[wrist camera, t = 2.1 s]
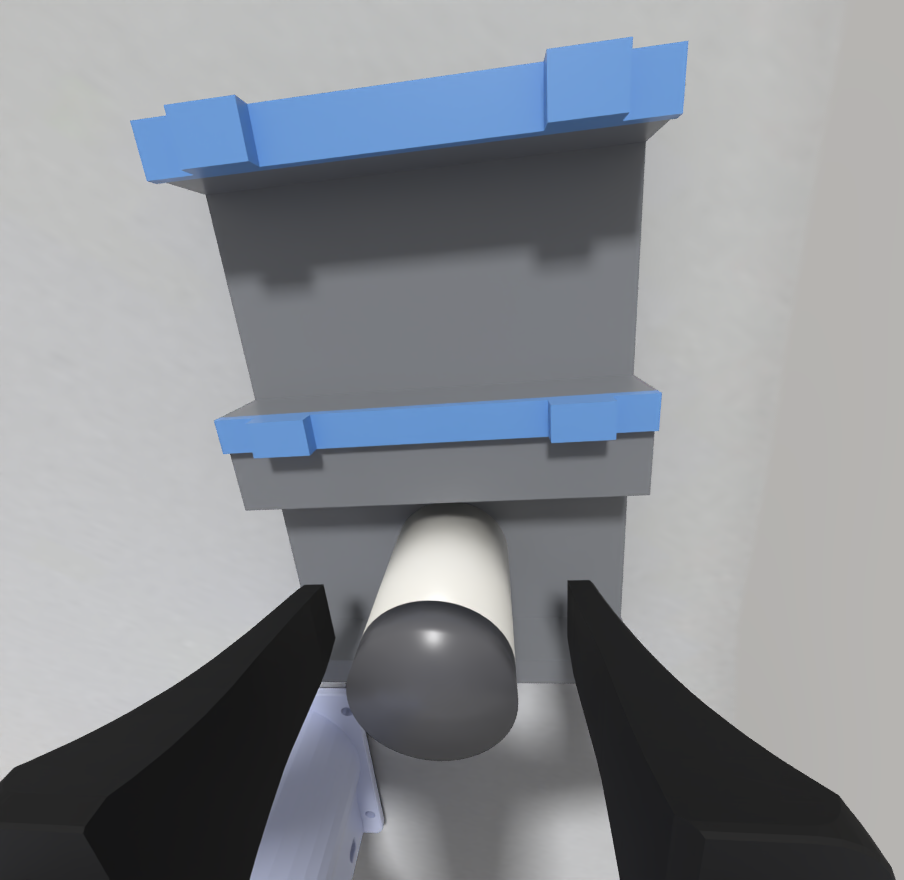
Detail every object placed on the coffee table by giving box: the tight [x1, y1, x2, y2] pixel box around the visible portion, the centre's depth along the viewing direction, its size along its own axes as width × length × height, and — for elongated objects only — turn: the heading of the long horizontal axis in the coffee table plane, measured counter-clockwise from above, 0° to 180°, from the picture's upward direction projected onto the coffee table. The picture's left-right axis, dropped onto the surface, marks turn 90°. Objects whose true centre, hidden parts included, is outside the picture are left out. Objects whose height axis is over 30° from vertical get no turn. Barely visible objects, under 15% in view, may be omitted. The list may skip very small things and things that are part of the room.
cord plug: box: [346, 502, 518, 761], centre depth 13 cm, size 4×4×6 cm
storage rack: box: [130, 37, 688, 683], centre depth 13 cm, size 18×12×4 cm, turn 5°
